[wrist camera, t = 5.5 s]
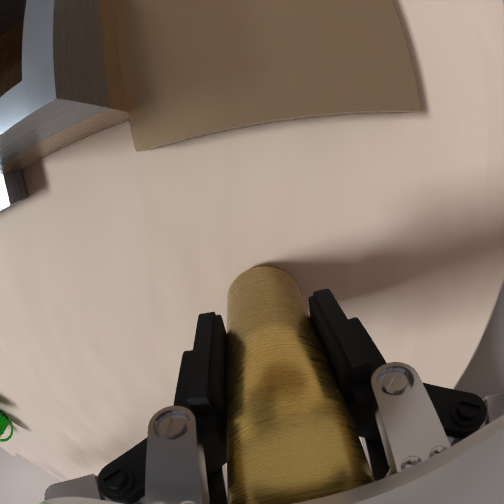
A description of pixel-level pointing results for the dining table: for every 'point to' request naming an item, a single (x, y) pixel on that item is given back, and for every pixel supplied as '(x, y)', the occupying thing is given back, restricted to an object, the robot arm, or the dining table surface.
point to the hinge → (188, 69)
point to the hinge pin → (283, 400)
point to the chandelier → (4, 426)
